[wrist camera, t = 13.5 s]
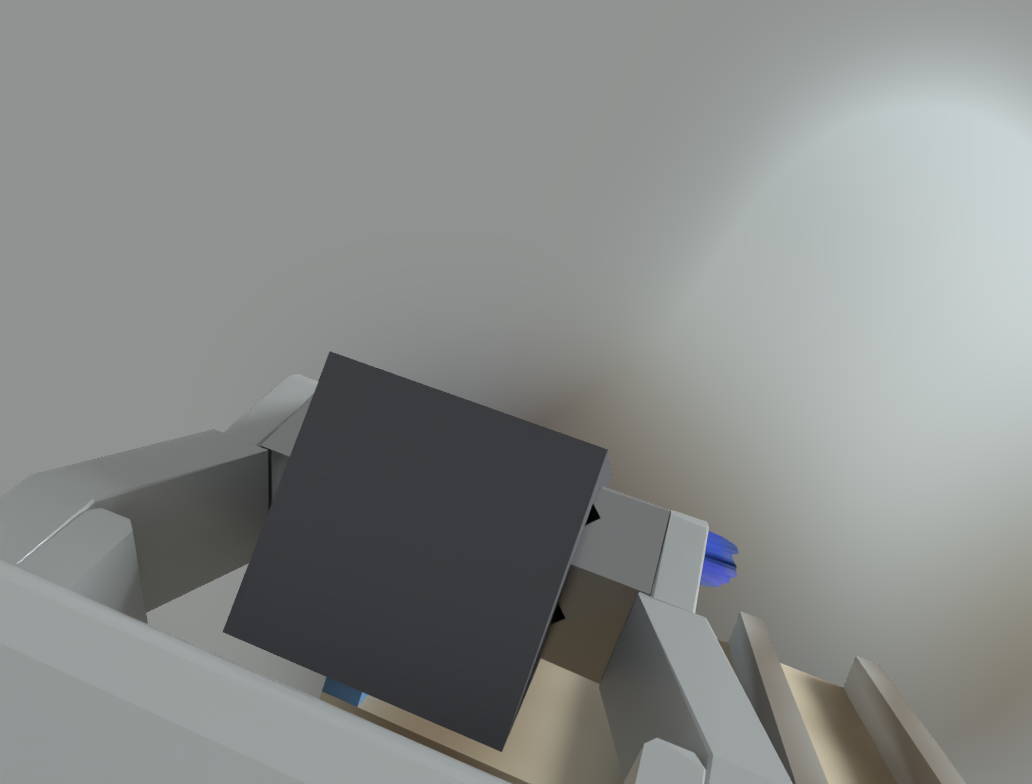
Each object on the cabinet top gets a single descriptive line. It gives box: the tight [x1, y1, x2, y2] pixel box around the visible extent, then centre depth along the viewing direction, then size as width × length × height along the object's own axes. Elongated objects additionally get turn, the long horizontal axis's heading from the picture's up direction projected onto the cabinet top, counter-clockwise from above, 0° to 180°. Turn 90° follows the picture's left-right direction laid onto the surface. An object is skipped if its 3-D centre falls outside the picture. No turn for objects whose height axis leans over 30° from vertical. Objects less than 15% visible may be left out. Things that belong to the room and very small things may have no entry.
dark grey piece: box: [223, 352, 612, 752], centre depth 18 cm, size 3×21×3 cm, turn 169°
